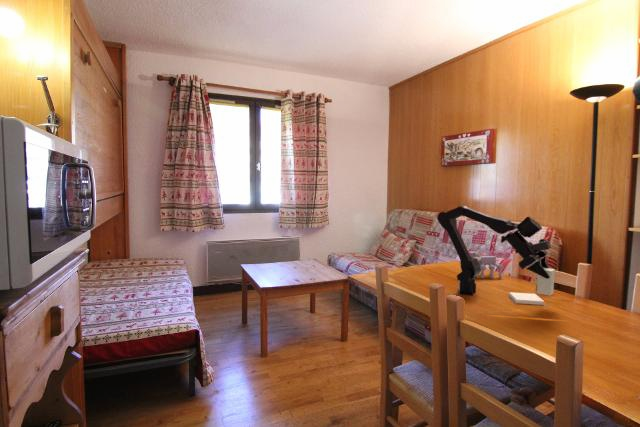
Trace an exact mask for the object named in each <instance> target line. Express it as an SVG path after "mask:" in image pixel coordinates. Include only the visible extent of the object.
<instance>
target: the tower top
mask: <svg viewBox="0 0 640 427" xmlns="http://www.w3.org/2000/svg"><path fill="white" fill-rule="evenodd" d="M508 295H509V296H510V297H511V298H512V299H513V300H514V301H515V302H516V303H522V304H521V305H523V304H537V305H536V306H539V305H544V303H545V300H543V299H542V298H540V296H538V295H537V293H526V292H510V291H509V293H508Z"/></svg>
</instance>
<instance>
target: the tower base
mask: <svg viewBox="0 0 640 427" xmlns="http://www.w3.org/2000/svg"><path fill="white" fill-rule="evenodd" d="M506 296H507V297H508V299H510V301H512V303H513V304H514V305H523V306H525V305H528V306H538V307H539V306H540V307H541V306H542V307H548V304H547V303H545V302H544V305H537V304H522V303H516V302H515V301H514V300H513V299H512V298H511V297H510V296H509V294H506Z"/></svg>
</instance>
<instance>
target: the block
mask: <svg viewBox="0 0 640 427" xmlns="http://www.w3.org/2000/svg"><path fill="white" fill-rule="evenodd" d="M544 270H545V271H546V272H547V274H548V275H549V278H548V279H546V278H544V277H542V276H540V275H538V274H537V281H538V282H537V281H536V286H537V290H536V294H541V295H545V296H548V297H549V296H550V297H551V295H553V294H554V287H555V272H556V269H555V268H550V267H549V268H544Z"/></svg>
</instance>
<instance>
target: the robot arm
mask: <svg viewBox="0 0 640 427" xmlns="http://www.w3.org/2000/svg"><path fill="white" fill-rule="evenodd" d="M462 216H463V217H466V218H468V219H471V220H473V221H476V222H477V223H481V224H483V225H485V226H487V227H488V228H489V229H491V230H492V231H494V232H495V233H497V234H500V235H501V237H500V238H501V239H500V243H501V244H503V243H505V242H507V243H508V244H509V245H510V246H511V247H512V249H514V253H515V254H518V255H519V256H520V257H521V258H522V260H520V261H519V262H518V266H519V268H520V269H521V270H524V269H526V270H527V271H531V272H532V273H535V274H536V275H537V276H538V275H540V276H542V277H544V278H546V279H548V278H549V275H548V274H547V272H546V271H545V270H544V268H550V266H549V265H548V263H547V258H548V256H547V255H549V252H548V250H550V249H552V245H551V242H550V241H549V240H547V239H546V238H541V239H539V240H538V242H536V243H533V242H532V241H528V240H527V239H526V238H532V237H533V236H535V235H536V234H537V233H538V232H539V233H540V231H542V229H543V226H542V225H541V224H540V223H539V222H538V221H536V220H535V219H534V218H532V217H531V216H526V217H525V218H524V219H523V220H522V221H521V222H520V223H515V222H512V221H511V220H509V219H507V218H503V217H497V216H496V217H495V216H491V215H489V214H486V213H483V212H481V211H478V210H475V209H473V208H470V207H468V206H467V205H459V206H457V207H455V208H452V209H450V210H447V211H441V212H439V213H438V214H437V216H436V219H437V221H438V223H439V225H440V227H442V228H443V229H444V230H445V231H446V232H447V235H448V236H449V237H448V238H450V239H449V240H450V241H451V243H452V245H453V247H454V249H455V252H456V254H457V256H458V258H459V260H460V261H459V263H460V264H459V265H460V269H461V271H460V272H459V273H458V274H457V275H456V278H457V281H458V289H457V291H458V293H459V294H460V295H471V296H473V295H474V293H477V283H476V280H475V279H476V278H477V276H479V275H481V268H480V267H481V265H480V264H479V262H478V259H477V258H476V259H473V258H472V257H471V256H470V254H469V252H470V251H469V250H468V248H467V246H466V244H465V241H464V240H463V237H462V236H461V233H460V231H459V229H458V225H457V223H458V222H457V218H460V217H462ZM513 231H514V232H513ZM503 234H506V235H503Z"/></svg>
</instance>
